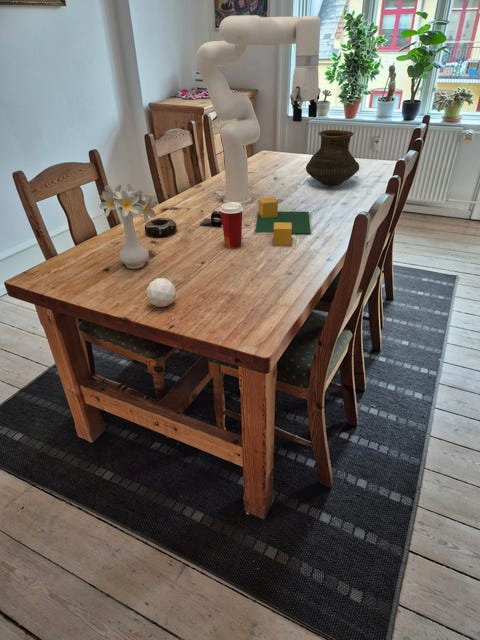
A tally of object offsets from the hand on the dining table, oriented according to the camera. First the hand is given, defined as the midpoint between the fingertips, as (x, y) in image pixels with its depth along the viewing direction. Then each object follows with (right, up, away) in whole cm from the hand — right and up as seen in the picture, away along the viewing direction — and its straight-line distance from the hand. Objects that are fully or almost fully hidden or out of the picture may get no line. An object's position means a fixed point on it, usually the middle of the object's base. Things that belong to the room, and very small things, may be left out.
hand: (304, 119), depth 152 cm
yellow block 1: (-11, -28, +22) cm, 37 cm away
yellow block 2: (-8, -42, +1) cm, 43 cm away
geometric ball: (-44, -65, -32) cm, 85 cm away
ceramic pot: (+21, -5, +56) cm, 60 cm away
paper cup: (-25, -44, 0) cm, 50 cm away
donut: (-52, -37, +12) cm, 65 cm away
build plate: (-31, -32, +18) cm, 48 cm away
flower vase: (-55, -52, -10) cm, 76 cm away
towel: (-6, -32, +16) cm, 37 cm away
